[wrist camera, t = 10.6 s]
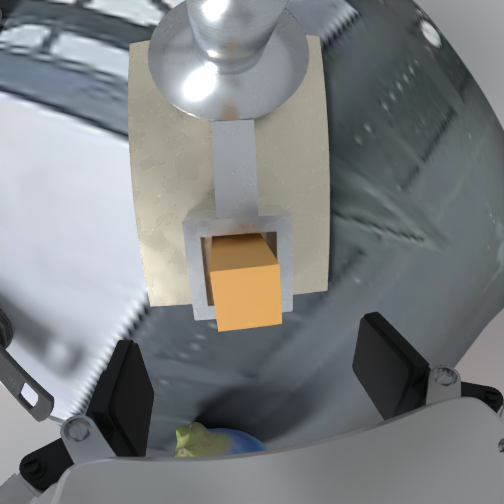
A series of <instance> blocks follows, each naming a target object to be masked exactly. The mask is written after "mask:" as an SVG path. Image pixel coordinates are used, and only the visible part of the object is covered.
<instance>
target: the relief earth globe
mask: <svg viewBox="0 0 504 504" xmlns="http://www.w3.org/2000/svg"><path fill="white" fill-rule="evenodd" d="M176 435H177V439H178V443H177V446H176V452H175V455H174V457H206V456H221V455H233V454H242V453H251V452H259V451H266V450H270V449H269V447H267V446H266V445H265V444H264V443H262V442H261V441H259V440H258V439H257V438H256V437H253V436H251V435H249V434H248V433H245V432H243V431H239V430H235V429H227V428H215V429H207V428H206V427H204V426H203V425H202V424H201V423H198V422H192V423H191V425H190V427H189V428H187V427H184V426H180V427H179V428H178V429H177V430H176Z"/></svg>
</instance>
